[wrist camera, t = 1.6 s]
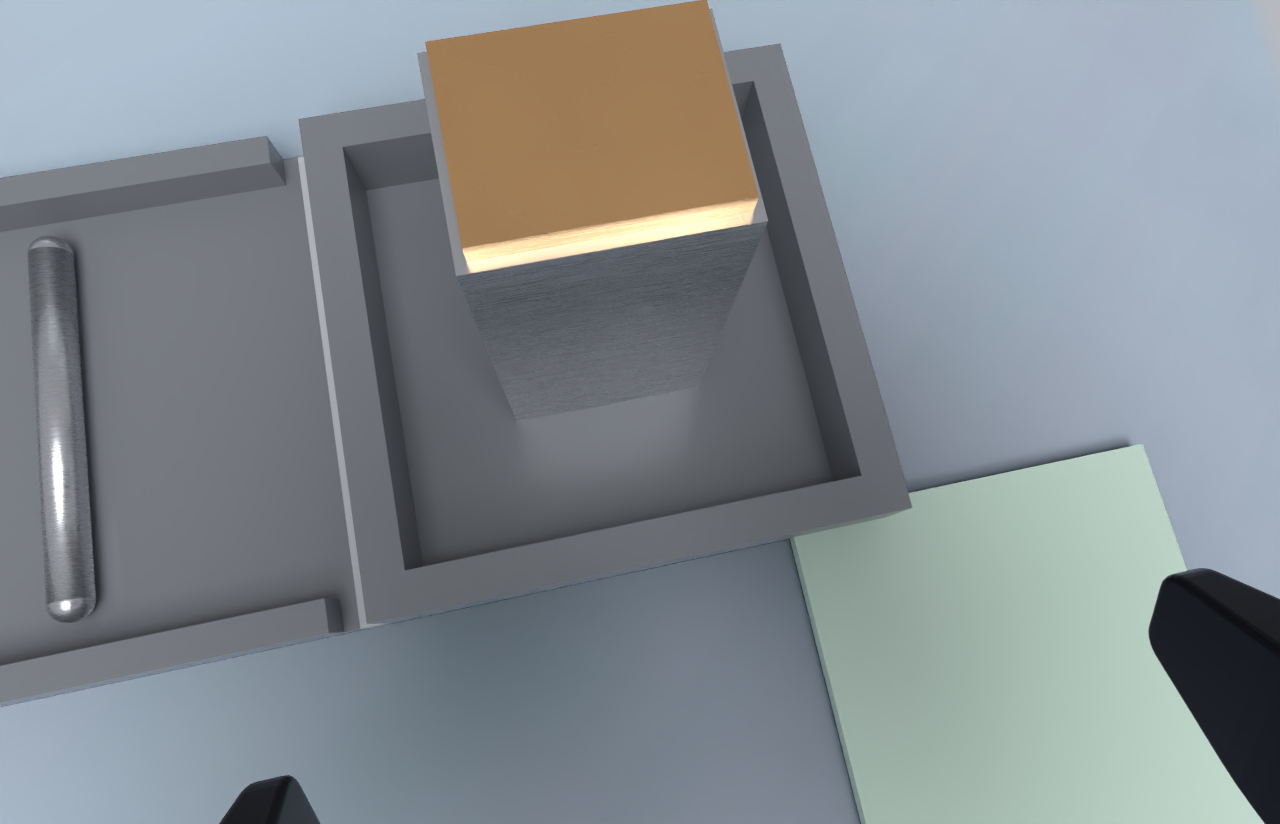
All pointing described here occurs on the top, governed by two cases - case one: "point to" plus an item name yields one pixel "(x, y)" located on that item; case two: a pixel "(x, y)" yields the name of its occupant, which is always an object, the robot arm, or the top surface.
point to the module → (594, 200)
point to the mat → (1012, 654)
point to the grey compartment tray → (389, 404)
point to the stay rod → (60, 432)
